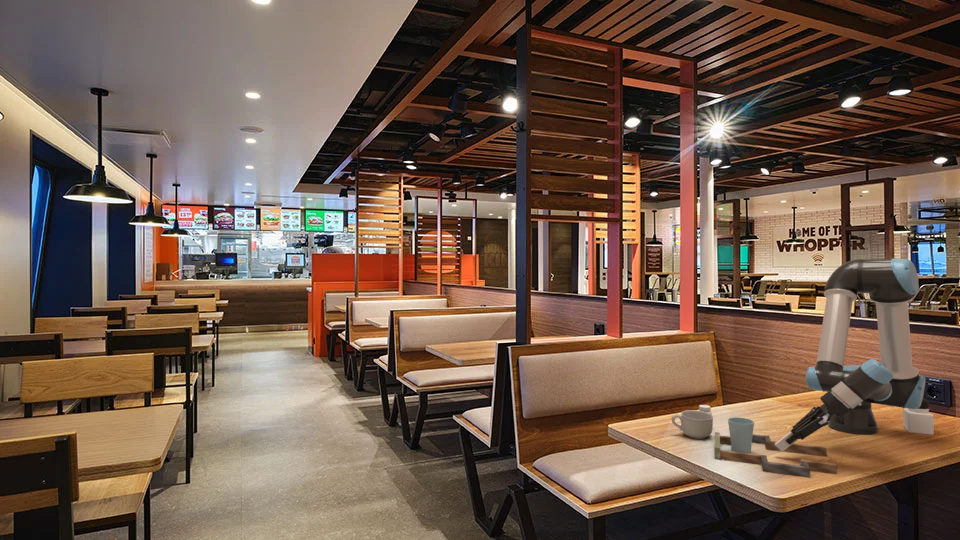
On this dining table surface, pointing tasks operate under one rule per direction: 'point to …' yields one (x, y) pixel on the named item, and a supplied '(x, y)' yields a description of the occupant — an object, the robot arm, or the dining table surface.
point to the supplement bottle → (705, 408)
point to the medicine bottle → (919, 419)
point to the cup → (741, 434)
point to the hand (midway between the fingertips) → (778, 447)
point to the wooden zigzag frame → (771, 466)
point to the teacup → (695, 423)
